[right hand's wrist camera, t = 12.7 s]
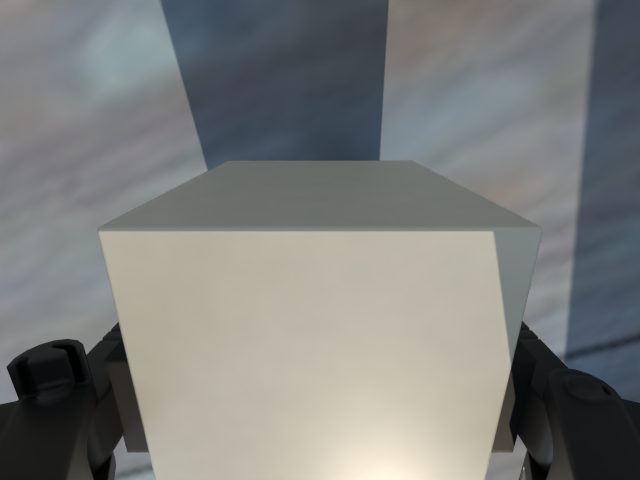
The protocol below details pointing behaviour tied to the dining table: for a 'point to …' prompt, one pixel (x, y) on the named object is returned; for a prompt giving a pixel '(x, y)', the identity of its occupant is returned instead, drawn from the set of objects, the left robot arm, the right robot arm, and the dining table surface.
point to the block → (320, 321)
